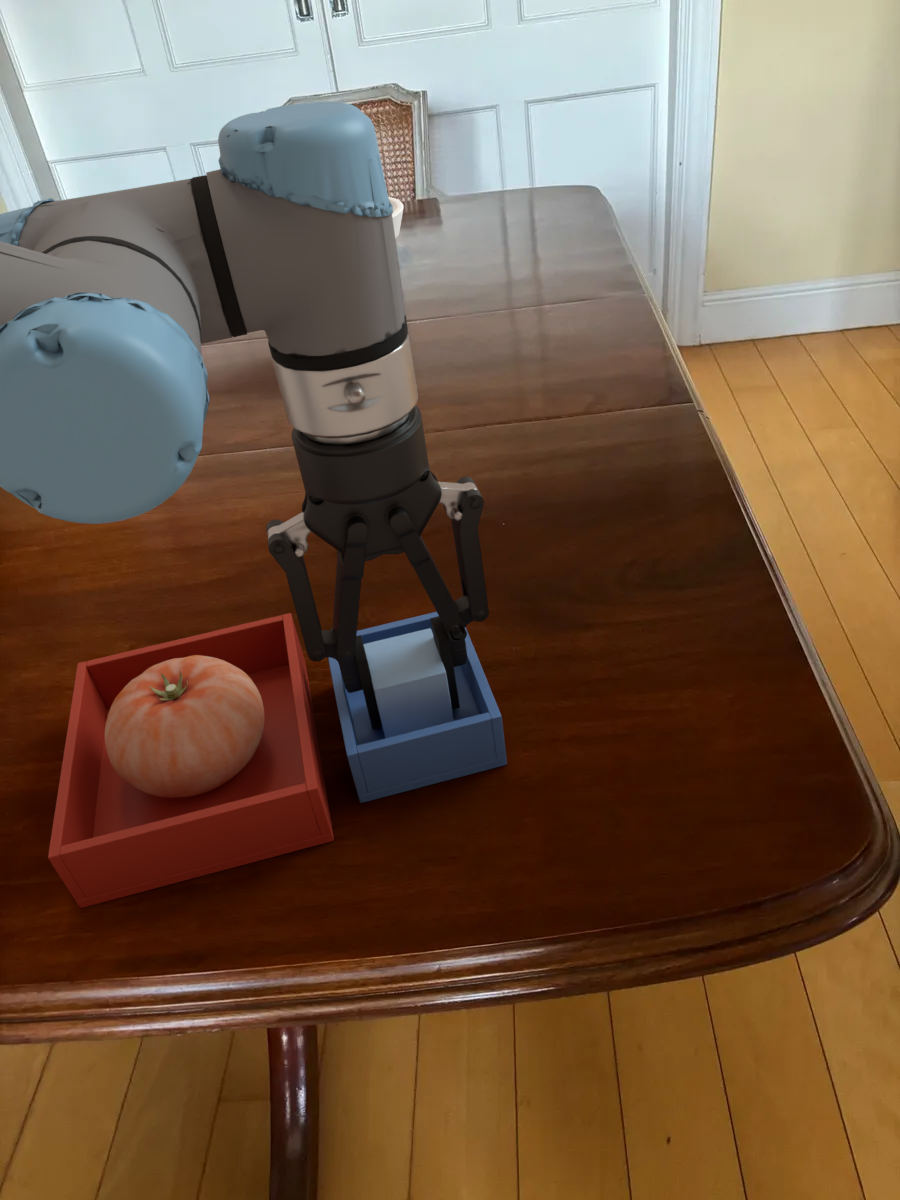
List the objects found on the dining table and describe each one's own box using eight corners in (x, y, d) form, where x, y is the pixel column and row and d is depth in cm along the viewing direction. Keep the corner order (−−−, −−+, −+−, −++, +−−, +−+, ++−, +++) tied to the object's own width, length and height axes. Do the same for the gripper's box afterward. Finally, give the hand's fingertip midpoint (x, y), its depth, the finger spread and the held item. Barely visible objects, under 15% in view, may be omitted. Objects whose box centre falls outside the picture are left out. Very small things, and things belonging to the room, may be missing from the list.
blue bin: (360, 803, 61) (346, 755, 58) (336, 684, 70) (324, 638, 67) (507, 765, 62) (501, 716, 59) (464, 653, 71) (457, 606, 69)
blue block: (385, 741, 63) (373, 690, 60) (374, 694, 67) (362, 644, 64) (454, 723, 63) (446, 672, 60) (439, 678, 67) (430, 627, 64)
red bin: (80, 908, 57) (47, 858, 53) (102, 712, 71) (77, 662, 68) (334, 841, 58) (317, 787, 55) (305, 662, 73) (290, 612, 70)
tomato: (143, 719, 69) (106, 640, 64) (282, 700, 68) (256, 619, 64) (110, 833, 60) (65, 753, 55) (270, 812, 60) (238, 729, 55)
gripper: (196, 480, 47) (295, 775, 61) (526, 409, 49) (547, 710, 63) (195, 420, 53) (286, 701, 67) (489, 358, 55) (516, 644, 69)
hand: (412, 705), depth 65 cm, fingers closed on blue block, 5 cm apart
